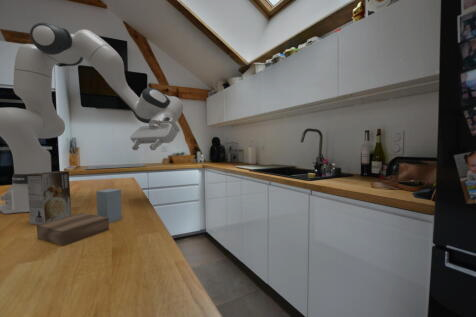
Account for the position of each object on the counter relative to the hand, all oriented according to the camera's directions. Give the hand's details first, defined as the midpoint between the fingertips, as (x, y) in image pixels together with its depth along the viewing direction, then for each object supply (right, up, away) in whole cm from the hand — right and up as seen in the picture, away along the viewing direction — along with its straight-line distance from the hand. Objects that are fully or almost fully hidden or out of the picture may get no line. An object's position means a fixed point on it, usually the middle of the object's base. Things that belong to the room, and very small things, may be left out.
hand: (142, 149), depth 88 cm
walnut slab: (-9, -25, -24) cm, 36 cm away
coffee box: (-26, -24, -12) cm, 37 cm away
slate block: (-6, -24, -12) cm, 28 cm away
